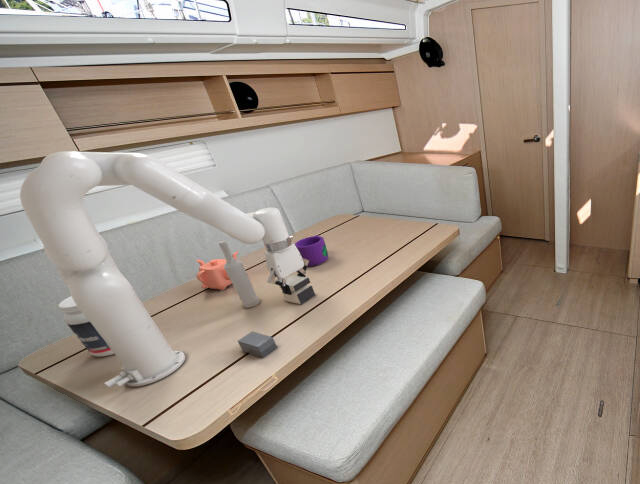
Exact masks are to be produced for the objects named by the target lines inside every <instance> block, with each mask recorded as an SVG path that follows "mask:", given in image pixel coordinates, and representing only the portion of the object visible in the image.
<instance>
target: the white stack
mask: <svg viewBox="0 0 640 484" xmlns="http://www.w3.org/2000/svg"><path fill="white" fill-rule="evenodd" d="M291 292H292V294H291V295H287V294H284V293H283V291H282V290H281V294H282V295H283V299H284V301H285V302H288V303H295V304H298V305H303V304H304V303H306V302H308V301H309V300H310V299H312V298H313V297H315V296H316V293H315V290H314V288H313V285H309V284H307V285H306V286H304V287H302V288H301V289H299V290H298V291H292V290H291Z"/></svg>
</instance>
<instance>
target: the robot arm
mask: <svg viewBox="0 0 640 484" xmlns="http://www.w3.org/2000/svg"><path fill="white" fill-rule="evenodd" d="M105 186H107V187H109V186H133V187H135V188H136V189H138V190H140V191H142V192H144V193H145V194H147V195H149V196H151V197H153V198H155V199H157V200H159V201H161V202H162V203H165V204H166V205H168V206H170V207H172V208H174V209H175V210H177V211H179V212H181V213H183V214H184V215H187V216H188V217H191V218H193V219H196V220H198V221H200V222H203V223H205V224H207V225H209V226H211V227H212V228H215V229H217V230H218V231H220V232H222V233H225V234H226V235H227V236H229V237H230V238H233V240H234V239H235V240H237V241H238V242H240V243H243V244H246V245H253V244H257V243H259V242H261V241H262V243H263V245H264V247H265V249H266V251H264V256H265V262H266V266H267V270H268V272H269V276H268V279H267V281H266V282H267V283H268V284H273V285H276V286H279V285H280V287H281V288H280V287H279V288H280V289H281V292H282V291H283V293H284V294H287V295H291V294H292V292H291V290H290V288H289V285H287V284H286V278H288V277H290V276H292V275H294V274H295V273H297V274H296V276H301V277H307V275H306V274H307V272H306V271H307V269H308V266H307V265H308V263H309V260H307V259H304V258H302V257H301V255H300V253H299V251H298V249H297V247H296V246H295V245H294V244H295V242H292V239H293V238H294V236H293V235H292V234H290V233H289V232H288V229H287V226H286V224H285V222H284V219H283V216H282V214H281V211H280V210H279V209H278V207H277V208H276V207H263V208H261V209H258V210H256V211H252V212H246V213H245V212H244V211H243V210H240V209H238V208H237V207H236V206H233V205H232V204H230V203H228V202H227V201H226V200H223V199H222V198H221V197H219V196H218V195H216V194H215V193H213V192H212V191H210V190H208V189H206V188H205V187H203V186H202V185H200V184H198V183H197V182H195V181H193V180H192V179H190V177H189V178H188V177H187V176H186V175H184V174H182V173H180V172H179V171H178V170H176V169H174V168H172V167H170V166H169V165H167V164H166V163H164V162H163V161H161V160H159V159H157V158H156V157H154V156H151V155H148V154H144V153H141V152H103V151H102V152H101V151H98V152H97V151H69V150H68V151H66V150H65V151H56V152H52V153H50V154H48V155H46V156H45V157H44V158H43V159H42V160H41V162H40V165H39V166H37V167H35V168H34V169H33V170H32V171H30V173H29V174H28V175H27V176H26V177H25V179H24V181H23V182H22V185H21V188H20V193H19V199H20V202H21V206H22V209H23V211H24V213H25V214H26V216H27V219H28V220H29V222H30V223H31V225H32V228H33V229H34V232H35V233H36V236H38V238H39V240H40V241H41V244H42V247H43V250H44V252H45V254H46V256H47V258H48V259H49V260H50V261H51V263H52V264H53V266H54V267H55V269H56V271H57V272H58V273H59V275H60V277H61V278H62V281H63V282H64V284H65V285H66V287H67V288H68V290H69V294H70V296H72V298H73V300H74V302H75V304H76V305H77V307H78V308H79V309H80V311H81V312H82V313H83V314H84V315H85V316H86V318H87V319H88V320H89V321H90V322H91V324H92V325H93V326H94V328H95V329H96V330H97V332H98V333H99V334H100V336H101V337H102V338H103V339H104V340H105V342H106V343H107V344H108V346H109V347H110V348H111V350H112V351H113V352H114V354H113V355H115V357H116V358H117V360H118V361H119V362H120V363H121V365H122V367H121V368H120V370H121V372H119V373H118V375H115V376H114V377H112V378H110V379H109V380H107V381H105V382H104V383H103V385H104V386H105V387H106V389H108V390H109V389H112V388H113V387H115V386H117V387H118V388H120V387H121V386H123V385H125V384H126V385H127V386H129V387H143V386H147V385H151V384H152V383H155V382H158V381H160V380H163V379H164V378H166V377H168V376H169V375H171V374H172V373H174V372H175V371H177V370H178V369H179V368H180V367H181V366H182V365H183V364H184V362H185V361H186V355H185V353H184V352H183V351H181V350H173V348H172V347H171V345H170V344H169V342H168V340H167V339H166V338H165V336H164V335H163V332H162V331H161V329H159V327H158V325H157V324H156V322H155V321H154V320H153V318H152V316H151V315H150V313H149V311H148V310H147V309H146V307H145V306H144V304H143V302H142V301H141V299H140V297H139V296H138V295H137V293H136V291H135V289H134V288H133V286H132V285H131V283H130V281H129V280H128V279H127V278H126V277H125V276H124V275H123V273H122V272H121V271H120V269H119V268H118V265H117V264H116V262H115V260H114V259H113V257H112V254H111V252H110V251H109V247H108V244H107V242H106V240H105V238H103V236H102V235H101V234H100V233H99V231H98V229H97V227H96V226H95V223H94V222H93V220H92V218H91V216H90V213H89V212H88V209H87V207H86V205H85V201H84V200H85V196H86V194H87V193H88V192H89V191H91V190H92V189H94V188H96V187H105ZM276 278H277V280H276ZM283 293H282V294H283Z"/></svg>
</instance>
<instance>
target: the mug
mask: <svg viewBox="0 0 640 484" xmlns="http://www.w3.org/2000/svg"><path fill="white" fill-rule="evenodd" d="M294 245H295V246H296V247H297V249H298V251H299V253H300V255H301V257H302V258H304V259H307V260H309V263H308V265H307V267H316V266H319V265H321V264H323V263H325V262H327V260H328V258H329V253H328V252H329V251H328V249H327V246H326V242H325V240H324V237H323V236H320V235H318V234H317V235H316V234H315V235H314V236H313V235H312V236H308V237H305V238H301V239H299V240H298V241H296V242H294Z"/></svg>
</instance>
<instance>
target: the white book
mask: <svg viewBox="0 0 640 484" xmlns="http://www.w3.org/2000/svg"><path fill="white" fill-rule="evenodd" d="M286 284H287V285H289V288H290V290H292V291H298V290H299V289H301V288H302V287H304V286H306V285H309V284H311V280H310V278H309V277H307V276H306V277H301V276H297V274H291V275H289V276H287V277H286ZM278 287H279V289H281V287H280V285H278Z"/></svg>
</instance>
